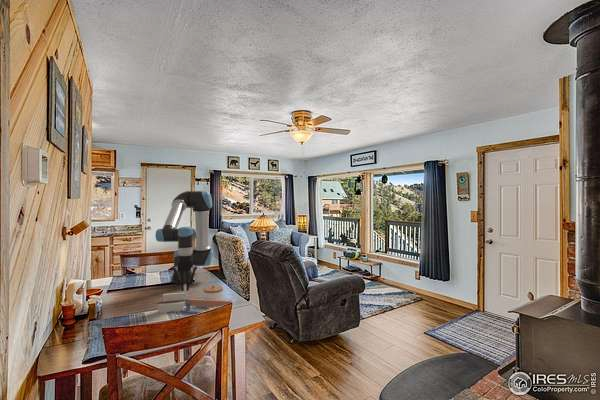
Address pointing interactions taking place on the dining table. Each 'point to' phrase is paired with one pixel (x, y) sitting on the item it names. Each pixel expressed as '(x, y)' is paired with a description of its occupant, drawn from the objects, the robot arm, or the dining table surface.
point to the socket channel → (172, 306)
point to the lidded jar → (213, 292)
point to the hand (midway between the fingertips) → (185, 296)
